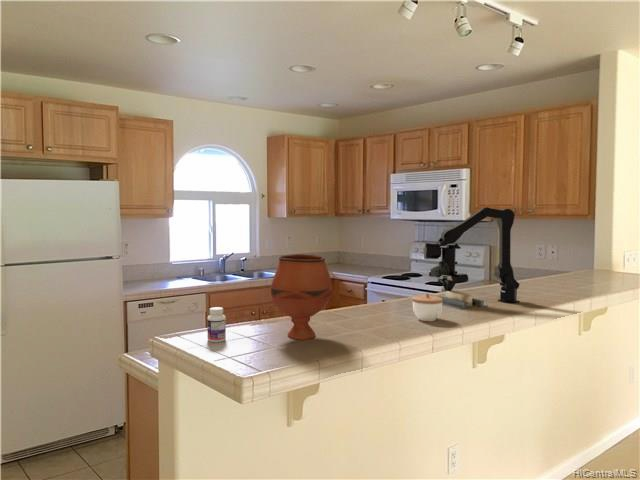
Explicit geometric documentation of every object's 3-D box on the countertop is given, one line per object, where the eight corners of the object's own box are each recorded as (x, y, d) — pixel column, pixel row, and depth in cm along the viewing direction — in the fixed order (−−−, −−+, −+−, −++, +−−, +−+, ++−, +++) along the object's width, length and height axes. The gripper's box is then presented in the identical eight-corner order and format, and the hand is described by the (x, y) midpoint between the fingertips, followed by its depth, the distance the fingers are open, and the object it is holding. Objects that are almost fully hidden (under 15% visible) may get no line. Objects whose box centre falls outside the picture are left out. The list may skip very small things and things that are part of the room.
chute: (460, 299, 224) (460, 293, 224) (487, 305, 210) (488, 299, 210) (432, 302, 217) (432, 296, 217) (459, 309, 203) (459, 303, 203)
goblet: (282, 347, 147) (283, 260, 146) (262, 331, 165) (262, 254, 163) (342, 340, 155) (343, 258, 153) (317, 326, 172) (318, 252, 171)
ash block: (456, 301, 220) (457, 290, 220) (471, 306, 211) (472, 294, 211) (445, 302, 218) (445, 291, 218) (460, 307, 209) (460, 294, 208)
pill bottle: (208, 337, 157) (208, 306, 156) (226, 337, 157) (226, 306, 156) (206, 342, 151) (206, 310, 151) (224, 342, 152) (224, 310, 151)
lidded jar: (424, 323, 178) (425, 297, 177) (405, 317, 187) (406, 292, 186) (448, 320, 183) (449, 294, 182) (429, 315, 192) (429, 290, 191)
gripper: (419, 257, 223) (418, 293, 225) (449, 262, 207) (448, 300, 208) (439, 256, 229) (438, 291, 230) (469, 261, 212) (468, 298, 213)
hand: (447, 295), depth 220 cm, fingers closed
